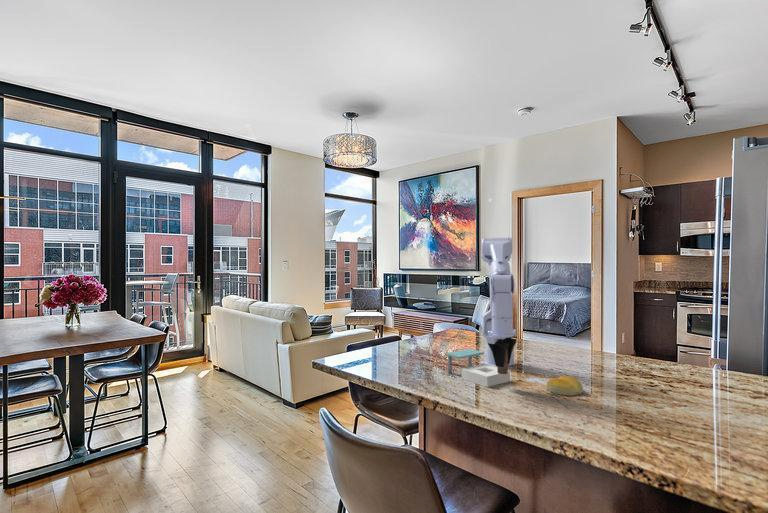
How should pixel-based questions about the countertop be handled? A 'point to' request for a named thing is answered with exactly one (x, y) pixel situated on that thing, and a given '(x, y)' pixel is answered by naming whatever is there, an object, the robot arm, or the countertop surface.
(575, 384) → the bread roll
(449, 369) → the awning
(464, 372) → the socket block
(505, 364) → the peg
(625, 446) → the countertop surface
